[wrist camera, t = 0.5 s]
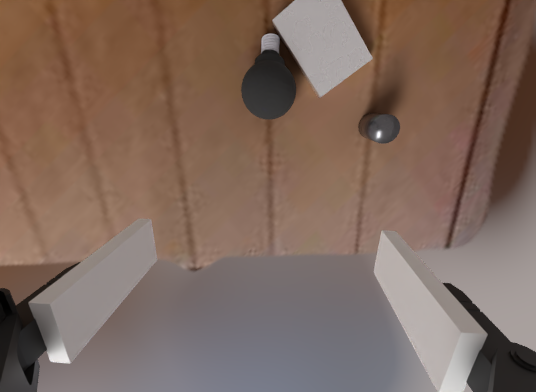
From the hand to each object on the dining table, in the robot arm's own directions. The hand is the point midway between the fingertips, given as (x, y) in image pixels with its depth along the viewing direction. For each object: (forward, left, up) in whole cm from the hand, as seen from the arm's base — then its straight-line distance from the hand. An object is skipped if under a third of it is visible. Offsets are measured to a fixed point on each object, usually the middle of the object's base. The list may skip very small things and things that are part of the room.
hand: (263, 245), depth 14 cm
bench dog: (+3, +13, -22) cm, 26 cm away
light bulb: (-9, +5, -23) cm, 25 cm away
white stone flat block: (-9, +13, -23) cm, 28 cm away
